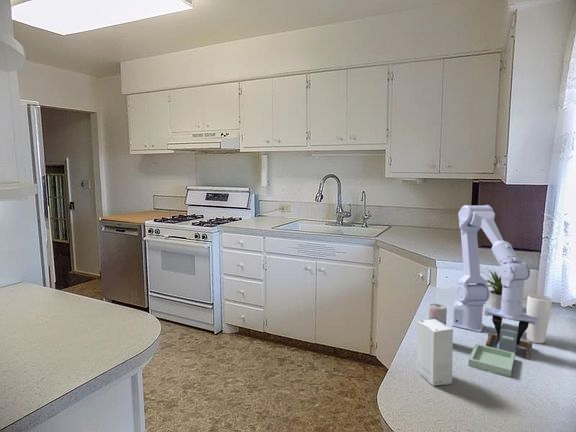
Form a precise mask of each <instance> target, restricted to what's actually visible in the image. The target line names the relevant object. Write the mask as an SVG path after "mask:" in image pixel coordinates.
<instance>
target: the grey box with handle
mask: <svg viewBox="0 0 576 432" xmlns="http://www.w3.org/2000/svg"><path fill="white" fill-rule="evenodd" d="M518 326H519V325H516V324H510V323H505V322H502V325H501V329H500V340H499V342H498V349H500V350H504V351H508V352H513V353H515V355H516V354H517V349H518V346H517V337H518Z"/></svg>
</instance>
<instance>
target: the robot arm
mask: <svg viewBox="0 0 576 432" xmlns="http://www.w3.org/2000/svg"><path fill="white" fill-rule="evenodd" d="M457 214H458V225H459V229H460V238H461V239H460V240H461V251H462V253H461V254H462V264H463V265H462V266H463V276H462V277H460V279H458V280H457V286H456V287H457V288H456V291H455V294H456V297H457V298H458V299H455V301H454V304H453V315H452V318H453V319H452V326H453V327H456V328H460V329H465V330H469V331H473V332H478V333H481V332H482V331H483V328H484V327H485V324H484V323H483V315H484V316H487V317H488V316H490V317H492V319H491V321H492V324H493V325H494V327H495V328H494V329H495V331H496V334H497V337H498V341H499V340H500V329H501V326H502V324H503V319H504V320H509V321H515V322H518V325H517V326H518V337H517V345H519V343H520V340H522V337H523V336H524V333H525V332H527V328H528V325H529V324H533V325H536V326H538V318H536V317H532V316H529V315H527V314H524V313H523V302H524V291H525V281H526V280H528V279H529V278H530V276H531V269H530V267H529V265H528V263H527V262H526V261H523V260H522V259H521V258H519V257H518V255H517V254H516V251H515V250H514V249H513V246H512V244H511V243H510V242H509V241H506V240H504V239H503V236H502V234H501V233H500V230H499V228H498V226H497V224H496V222H495V218H496V213H495V212H494V209H493V207H491V206H490V205H489V204H484V205H468V204H465V205H463V206H462V207H461V208H460V209H459V211H458V213H457ZM480 229H482V231H483V232H484V235H486V237H487V239H488V240H489V241H490V243H491V244H492V247H491V252H492V254H493V256H494V258H495V259H496V261H497V263H498V265H499V267H500V268H499V269H498V274H499V277H500V276H501V283H502V285H503V288H502V300H501V309H495V308H489V307H485V309H484V305H486V302H487V301H489V300H490V291H491V290H490V288H489V287H488V286H487V285H488V282H487V281H486V280H487V279H486V278H484V277H482V275H481V268H480V265H481V264H480V255H479V242H478V232H479V231H480ZM483 312H484V314H483ZM498 341H497V342H498Z"/></svg>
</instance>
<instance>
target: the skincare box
mask: <svg viewBox="0 0 576 432" xmlns="http://www.w3.org/2000/svg"><path fill="white" fill-rule="evenodd" d="M416 335H417V337H416V339H417V340H416V342H417V343H416V345H417V346H416V372H417V371H418V372H419V373H420V374H421V375H422V376H421V375H420V374H419V373H418V372H417V373H418V374H419V375H420V376H421V377H422V378H424V380H426V381H427V382H428V383H430V384H431V386H435V387H436V386H442V385H452V383H453V356H454V355H453V352H454V351H453V345H454V344H453V342H454V340H453V339H454V328H451V327H450V326H449V325H447V324H446V325H444V324H443V323H441V322H439V321H437V320H436V319H432V320H428V319H424V320H417V334H416Z"/></svg>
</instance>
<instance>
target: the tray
mask: <svg viewBox="0 0 576 432" xmlns="http://www.w3.org/2000/svg"><path fill="white" fill-rule="evenodd" d="M515 358H516V354H515V353H513V352H508V351H504V350H500V349H499V348H497V347H493V346H492V347H491V346H490V347H488V346H486V345H483V344H479V343H476V344H475V345H474V347H473V349H472V351H471V353H470V355H469V358H468V365H467V366H468V367H471V368H475V369H478V370H479V369H480V370H483V371H486V372H490V373H493V374H497V375H500V376H503V377H508V378H512V372H513V369H514V363H515Z"/></svg>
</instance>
